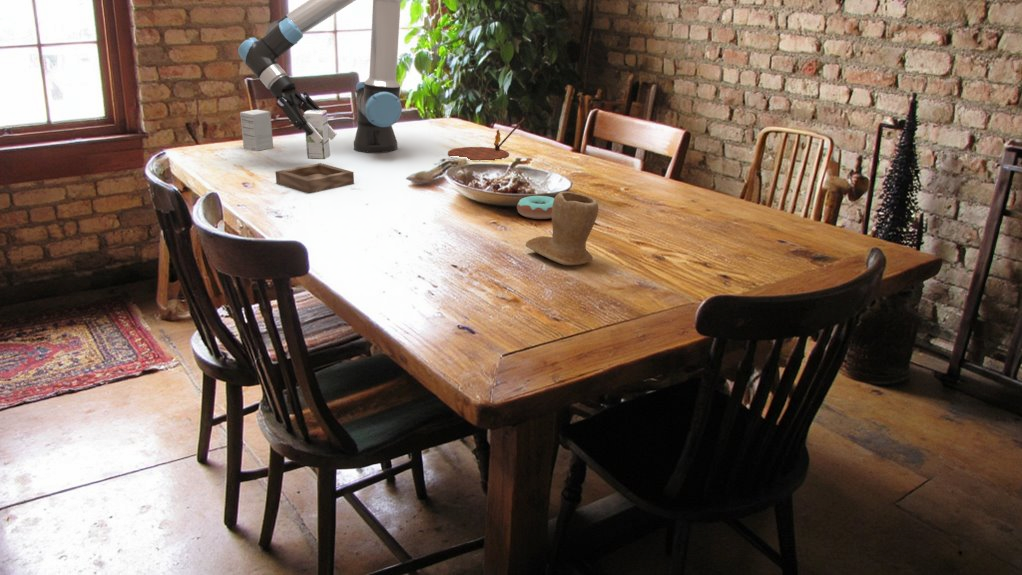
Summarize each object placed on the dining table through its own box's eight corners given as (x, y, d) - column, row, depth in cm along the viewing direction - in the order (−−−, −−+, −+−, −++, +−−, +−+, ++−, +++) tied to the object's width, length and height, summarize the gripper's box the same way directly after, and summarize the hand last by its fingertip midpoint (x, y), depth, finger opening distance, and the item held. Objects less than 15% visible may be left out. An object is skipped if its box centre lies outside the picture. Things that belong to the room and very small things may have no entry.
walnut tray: (321, 174, 259) (320, 163, 257) (354, 183, 249) (353, 171, 247) (276, 183, 248) (275, 171, 246) (308, 193, 238) (307, 181, 236)
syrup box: (330, 155, 266) (327, 109, 261) (325, 159, 261) (321, 112, 256) (313, 155, 267) (309, 109, 262) (307, 159, 261) (303, 112, 256)
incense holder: (436, 153, 291) (435, 120, 287) (506, 144, 308) (507, 113, 304) (469, 164, 276) (469, 130, 272) (542, 154, 292) (543, 122, 288)
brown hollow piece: (606, 263, 187) (610, 197, 181) (562, 272, 181) (565, 205, 175) (565, 244, 199) (568, 182, 193) (523, 252, 193) (525, 188, 187)
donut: (509, 217, 219) (510, 202, 218) (526, 206, 230) (526, 192, 228) (553, 223, 215) (553, 208, 214) (567, 211, 226) (568, 197, 224)
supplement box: (260, 145, 297) (256, 109, 292) (274, 148, 293) (270, 111, 288) (242, 148, 291) (239, 111, 287) (256, 151, 287) (253, 114, 283)
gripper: (291, 86, 271) (338, 141, 271) (251, 95, 254) (301, 153, 254) (303, 70, 267) (351, 125, 267) (264, 78, 250) (315, 137, 250)
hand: (327, 139), depth 260 cm, fingers closed on syrup box, 7 cm apart
